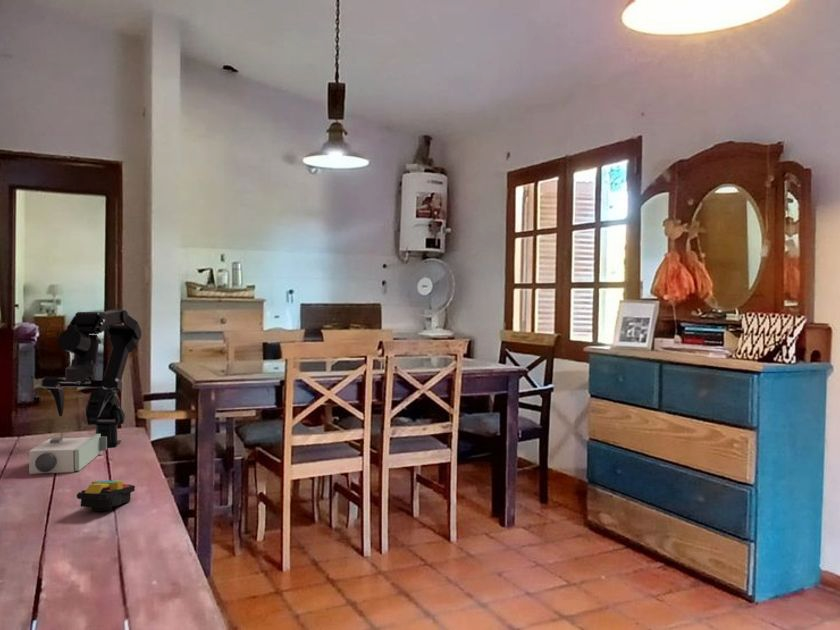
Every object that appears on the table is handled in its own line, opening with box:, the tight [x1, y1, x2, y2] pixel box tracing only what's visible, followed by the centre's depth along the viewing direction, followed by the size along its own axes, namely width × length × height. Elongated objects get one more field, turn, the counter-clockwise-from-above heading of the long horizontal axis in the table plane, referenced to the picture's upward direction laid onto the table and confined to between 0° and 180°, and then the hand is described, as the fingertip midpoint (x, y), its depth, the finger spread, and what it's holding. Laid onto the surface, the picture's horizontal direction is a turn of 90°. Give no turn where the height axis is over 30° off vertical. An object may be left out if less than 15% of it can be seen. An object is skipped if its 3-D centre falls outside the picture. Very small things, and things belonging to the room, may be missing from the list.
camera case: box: [28, 437, 91, 475], centre depth 178 cm, size 15×10×6 cm, turn 10°
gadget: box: [76, 479, 136, 512], centre depth 146 cm, size 6×13×6 cm, turn 174°
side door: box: [74, 433, 108, 472], centre depth 183 cm, size 19×3×5 cm, turn 10°
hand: (79, 416), depth 185 cm, fingers open, 9 cm apart
